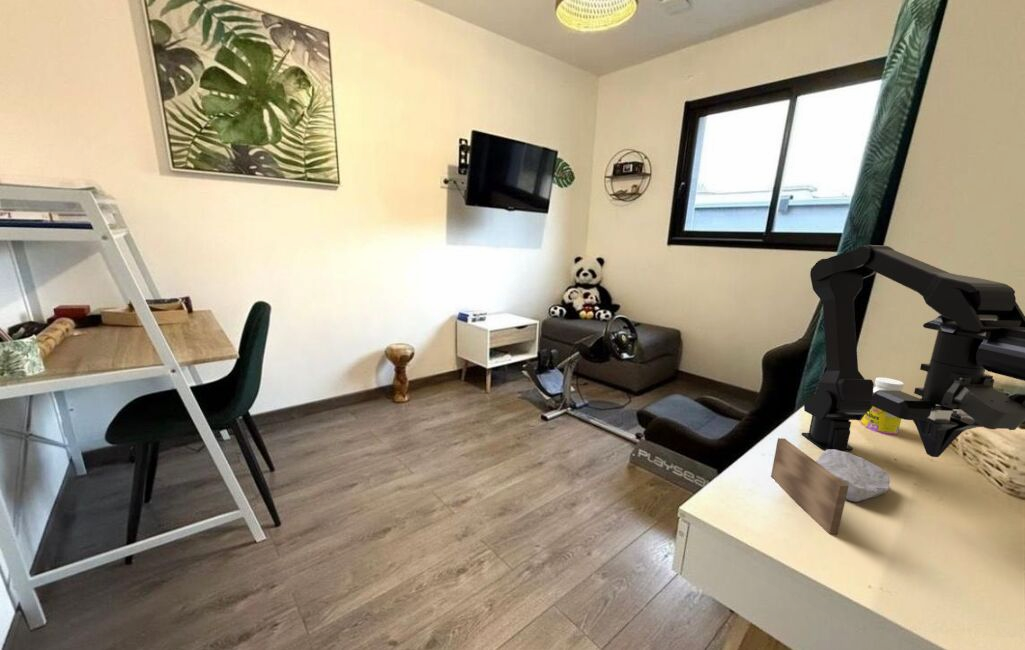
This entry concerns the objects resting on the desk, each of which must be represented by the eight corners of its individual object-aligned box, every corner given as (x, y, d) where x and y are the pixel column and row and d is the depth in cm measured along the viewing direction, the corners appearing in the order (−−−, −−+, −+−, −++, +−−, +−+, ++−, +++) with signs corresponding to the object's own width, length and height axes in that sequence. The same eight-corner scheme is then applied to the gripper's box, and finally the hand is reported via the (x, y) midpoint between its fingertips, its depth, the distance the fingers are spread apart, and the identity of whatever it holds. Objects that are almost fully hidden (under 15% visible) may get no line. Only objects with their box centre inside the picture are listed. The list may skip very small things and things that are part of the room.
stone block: (886, 495, 70) (822, 460, 78) (899, 473, 69) (832, 441, 76) (867, 522, 64) (798, 482, 71) (880, 499, 62) (809, 460, 69)
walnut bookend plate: (770, 478, 72) (777, 438, 70) (777, 478, 72) (784, 438, 70) (829, 534, 58) (840, 485, 56) (837, 534, 58) (848, 485, 56)
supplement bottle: (851, 425, 95) (862, 374, 93) (881, 427, 95) (893, 376, 92) (872, 438, 89) (884, 384, 86) (904, 441, 88) (918, 386, 85)
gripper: (952, 378, 53) (923, 483, 56) (1094, 383, 52) (1057, 488, 55) (878, 355, 64) (857, 444, 67) (995, 359, 63) (969, 448, 66)
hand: (932, 455), depth 64 cm, fingers closed
